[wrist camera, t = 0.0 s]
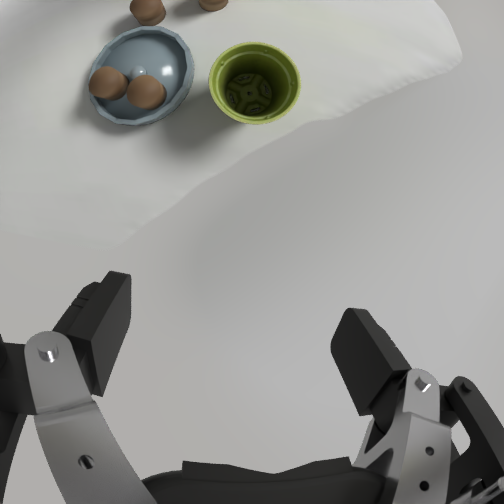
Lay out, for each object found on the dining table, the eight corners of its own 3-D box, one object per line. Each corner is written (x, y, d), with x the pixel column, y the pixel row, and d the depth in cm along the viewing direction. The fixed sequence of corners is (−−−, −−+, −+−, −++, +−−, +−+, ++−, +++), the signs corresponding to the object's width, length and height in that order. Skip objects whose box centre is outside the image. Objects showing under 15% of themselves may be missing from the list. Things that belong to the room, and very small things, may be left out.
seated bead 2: (141, 80, 29) (131, 73, 25) (170, 83, 30) (162, 75, 25) (134, 108, 30) (123, 105, 26) (163, 111, 31) (154, 108, 27)
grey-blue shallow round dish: (111, 32, 26) (104, 27, 23) (205, 36, 28) (204, 29, 26) (87, 122, 31) (79, 122, 28) (180, 131, 33) (177, 130, 31)
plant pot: (226, 137, 34) (227, 137, 26) (202, 75, 30) (196, 57, 23) (293, 115, 34) (313, 109, 26) (269, 54, 30) (282, 33, 22)
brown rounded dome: (143, 5, 25) (135, -8, 20) (169, 5, 25) (163, -8, 21) (135, 26, 26) (125, 15, 22) (161, 27, 27) (154, 15, 23)
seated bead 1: (106, 73, 28) (93, 66, 23) (132, 73, 28) (121, 66, 24) (99, 100, 29) (85, 96, 25) (125, 101, 30) (113, 97, 26)
